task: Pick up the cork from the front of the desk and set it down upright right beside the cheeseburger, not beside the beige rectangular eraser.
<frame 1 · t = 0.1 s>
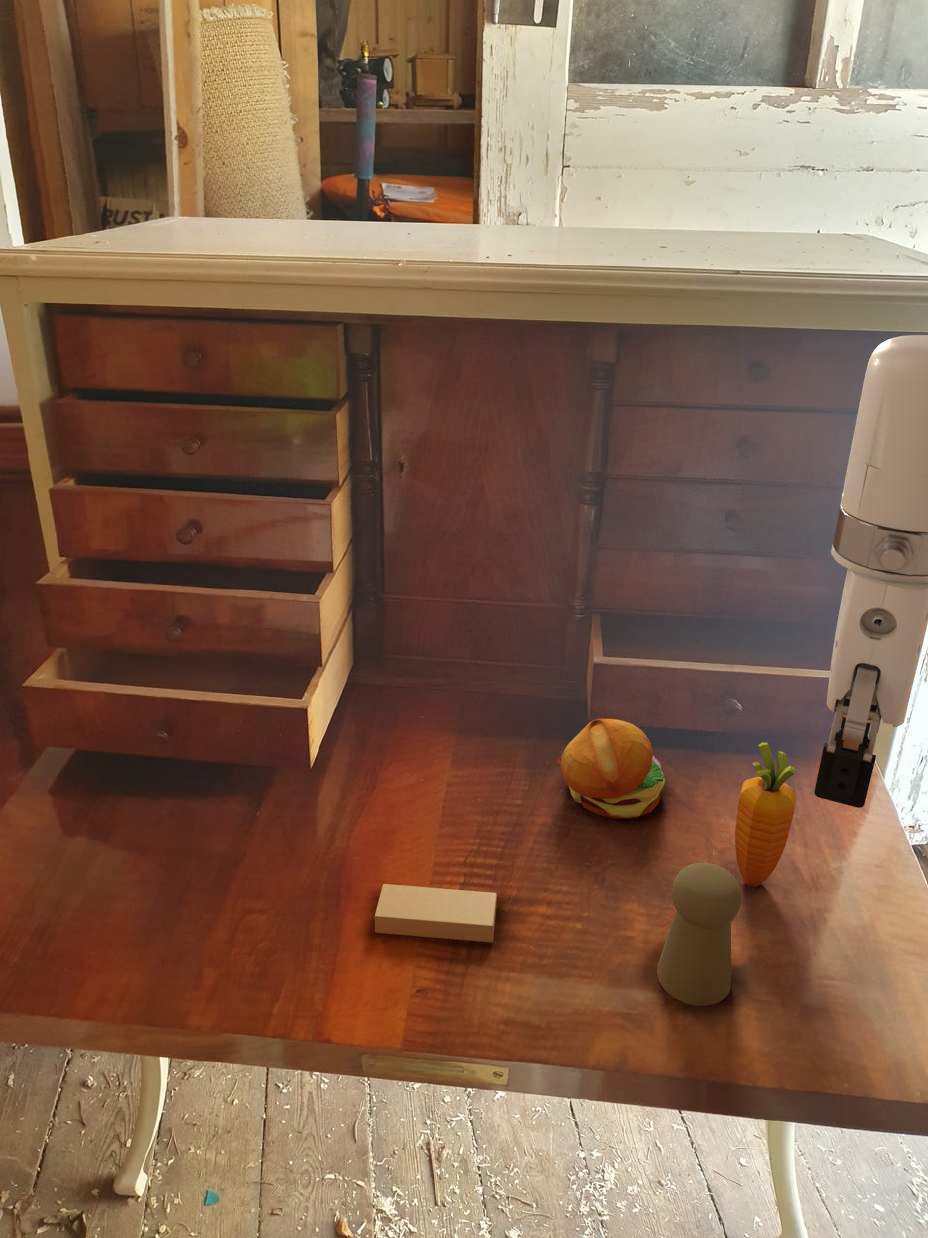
hand: (847, 763, 69), 21 cm above the table, tool pointing down, fingers open, 9 cm apart
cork: (692, 984, 78), on the table
beige rectangular eraser: (436, 926, 83), on the table
carrot: (750, 889, 88), on the table
cheeseburger: (612, 801, 100), on the table
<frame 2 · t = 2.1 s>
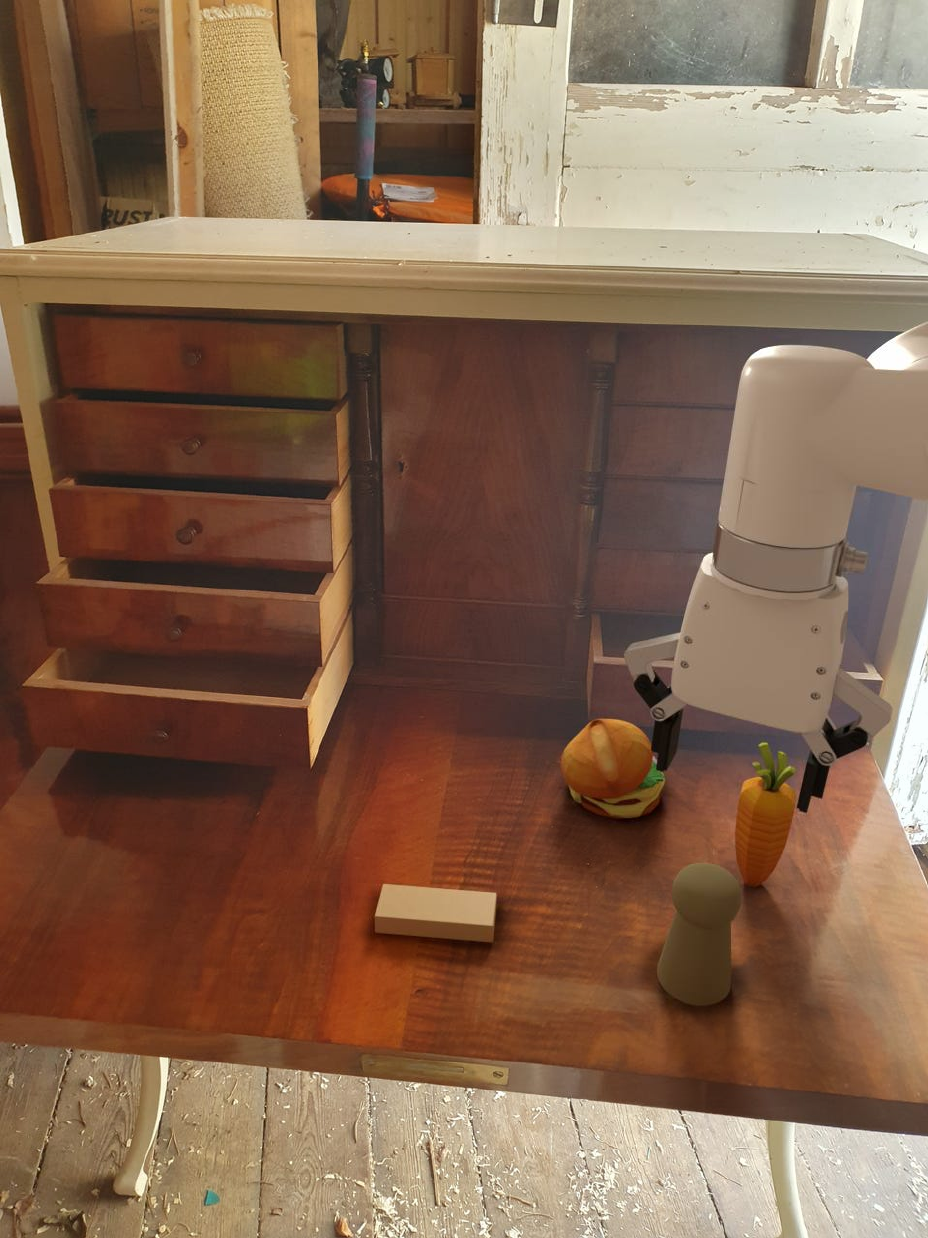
hand: (733, 780, 67), 21 cm above the table, tool pointing down, fingers open, 9 cm apart
nothing on the table moved.
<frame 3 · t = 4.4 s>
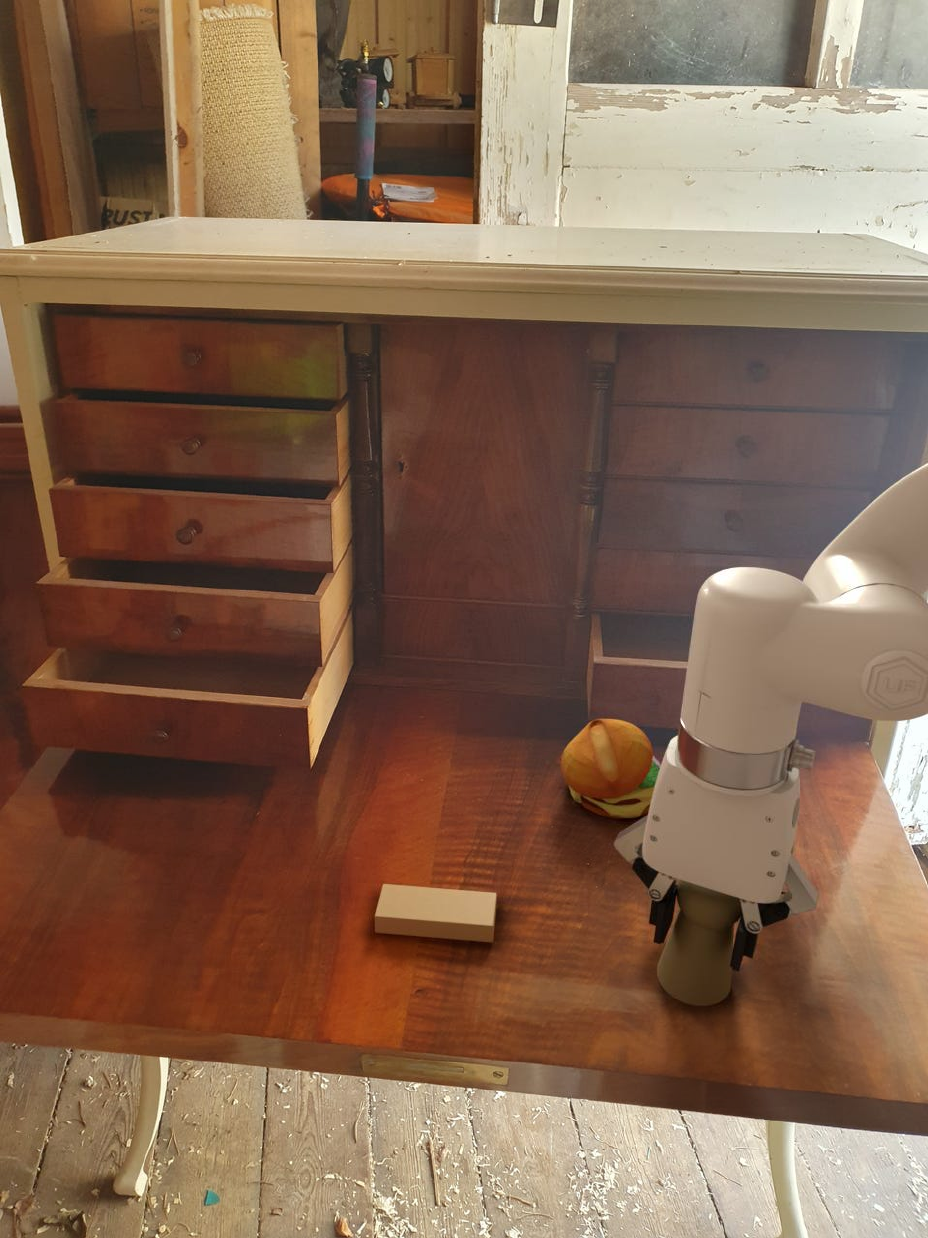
hand: (700, 943, 74), 6 cm above the table, tool pointing down, fingers closed on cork, 5 cm apart
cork: (692, 983, 78), on the table, touching gripper
everything else where it was.
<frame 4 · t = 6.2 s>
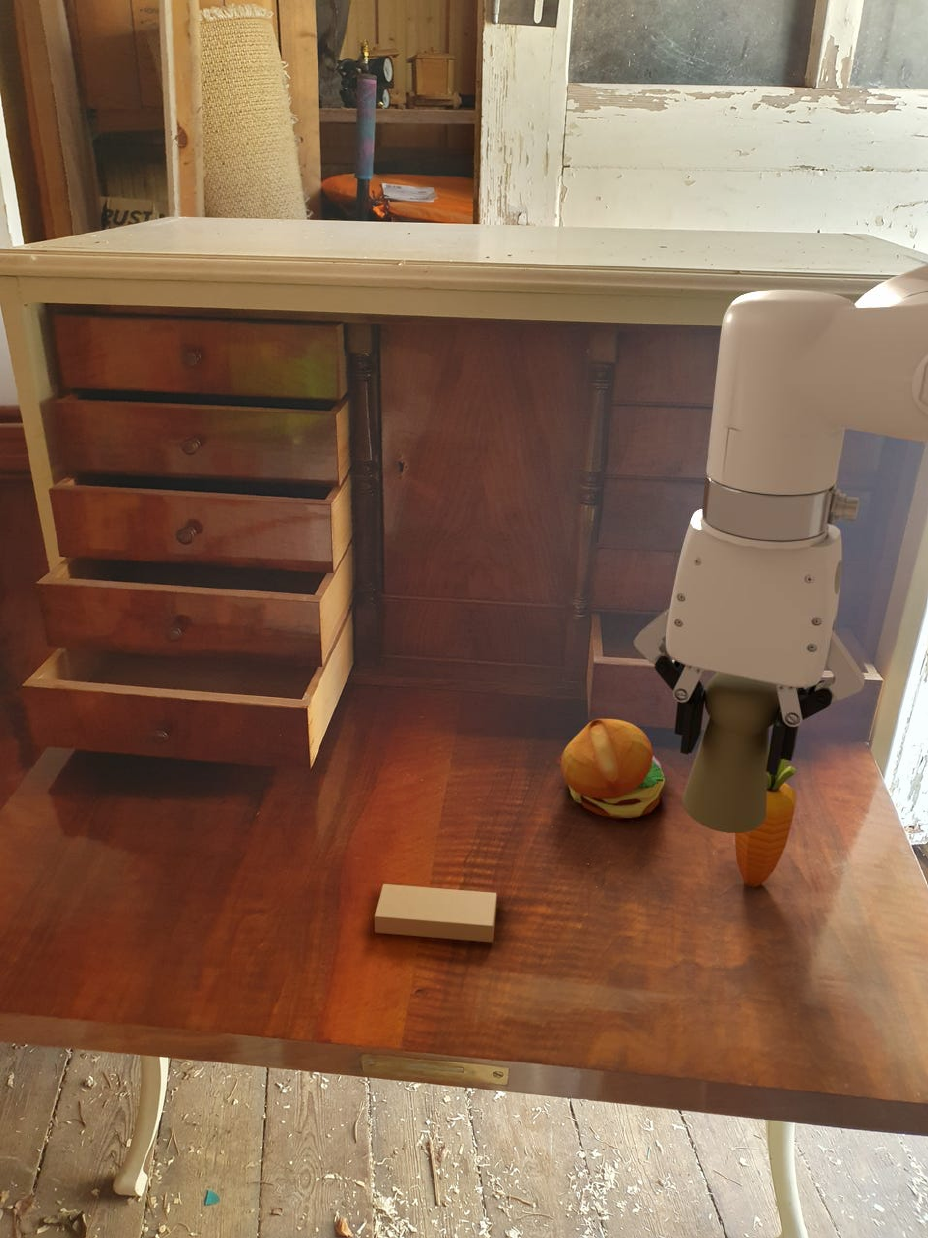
hand: (732, 751, 67), 23 cm above the table, tool pointing down, fingers closed on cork, 5 cm apart
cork: (723, 808, 71), point 17 cm above the table, touching gripper
everything else where it was.
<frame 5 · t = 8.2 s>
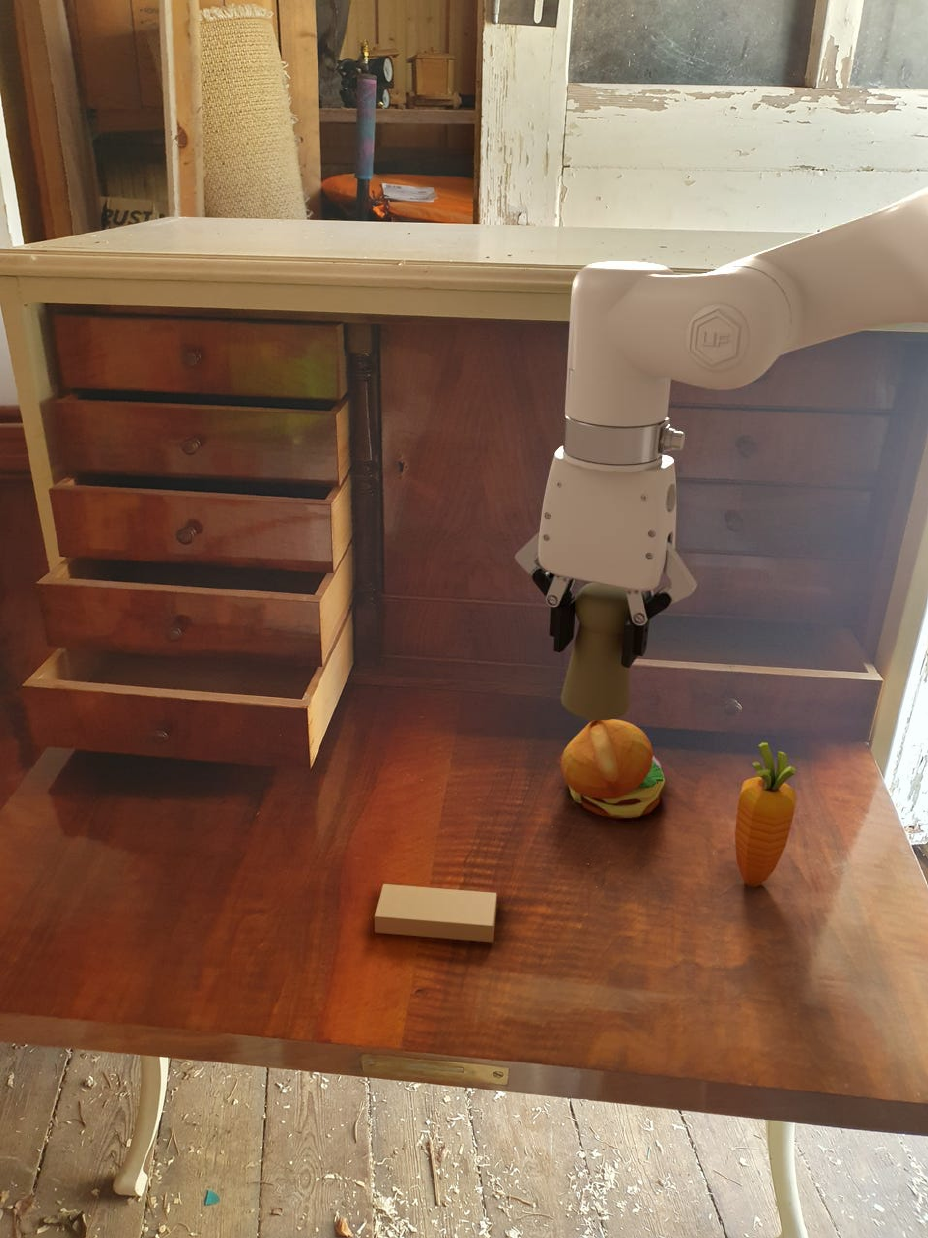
hand: (596, 650, 80), 23 cm above the table, tool pointing down, fingers closed on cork, 5 cm apart
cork: (595, 703, 84), point 17 cm above the table, touching gripper
everything else where it was.
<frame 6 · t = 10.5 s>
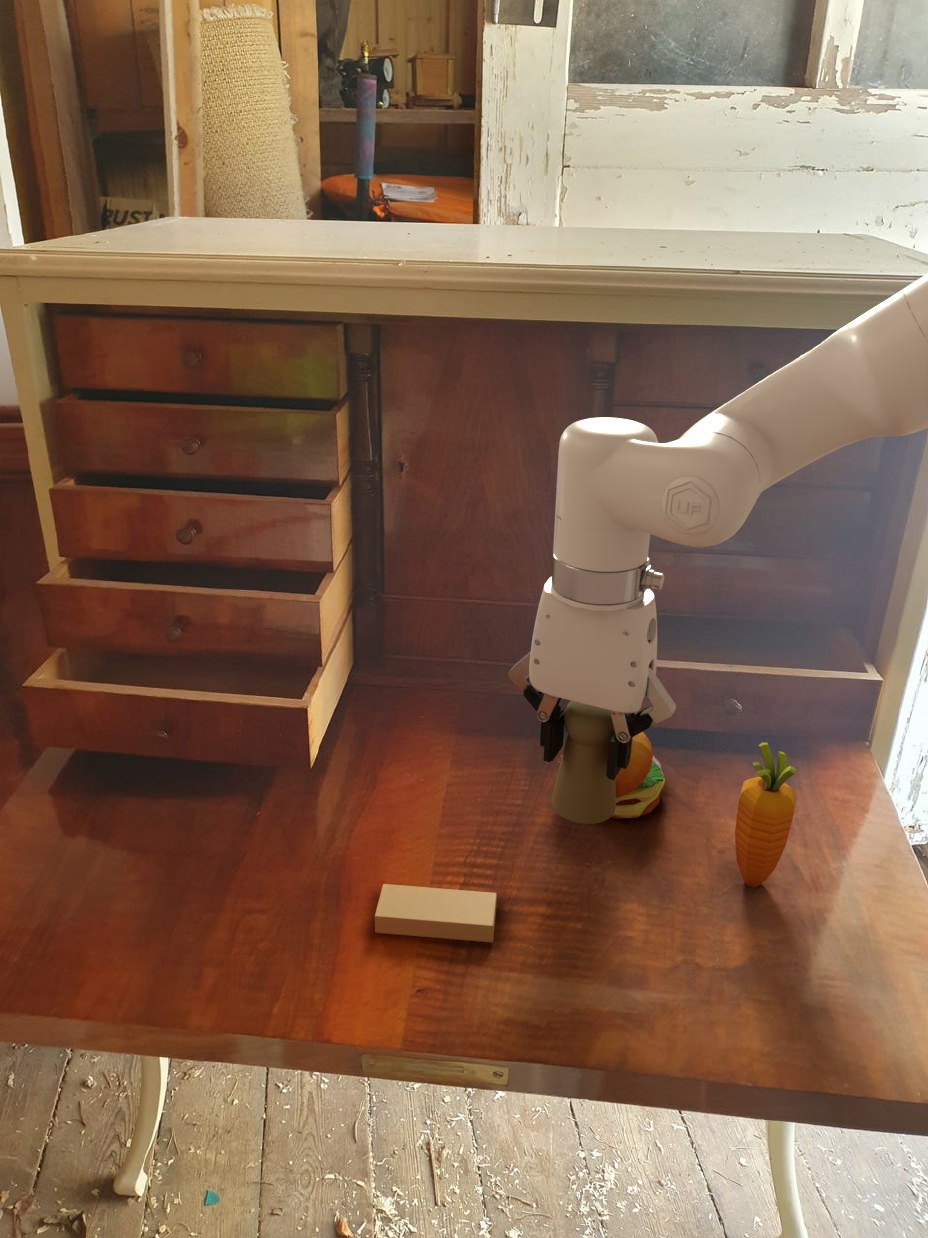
hand: (583, 760, 85), 12 cm above the table, tool pointing down, fingers closed on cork, 5 cm apart
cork: (583, 804, 90), point 6 cm above the table, touching gripper
everything else where it was.
when the fingers open (6 cm above the table, at t = 12.2 s): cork stays where it is, on the table.
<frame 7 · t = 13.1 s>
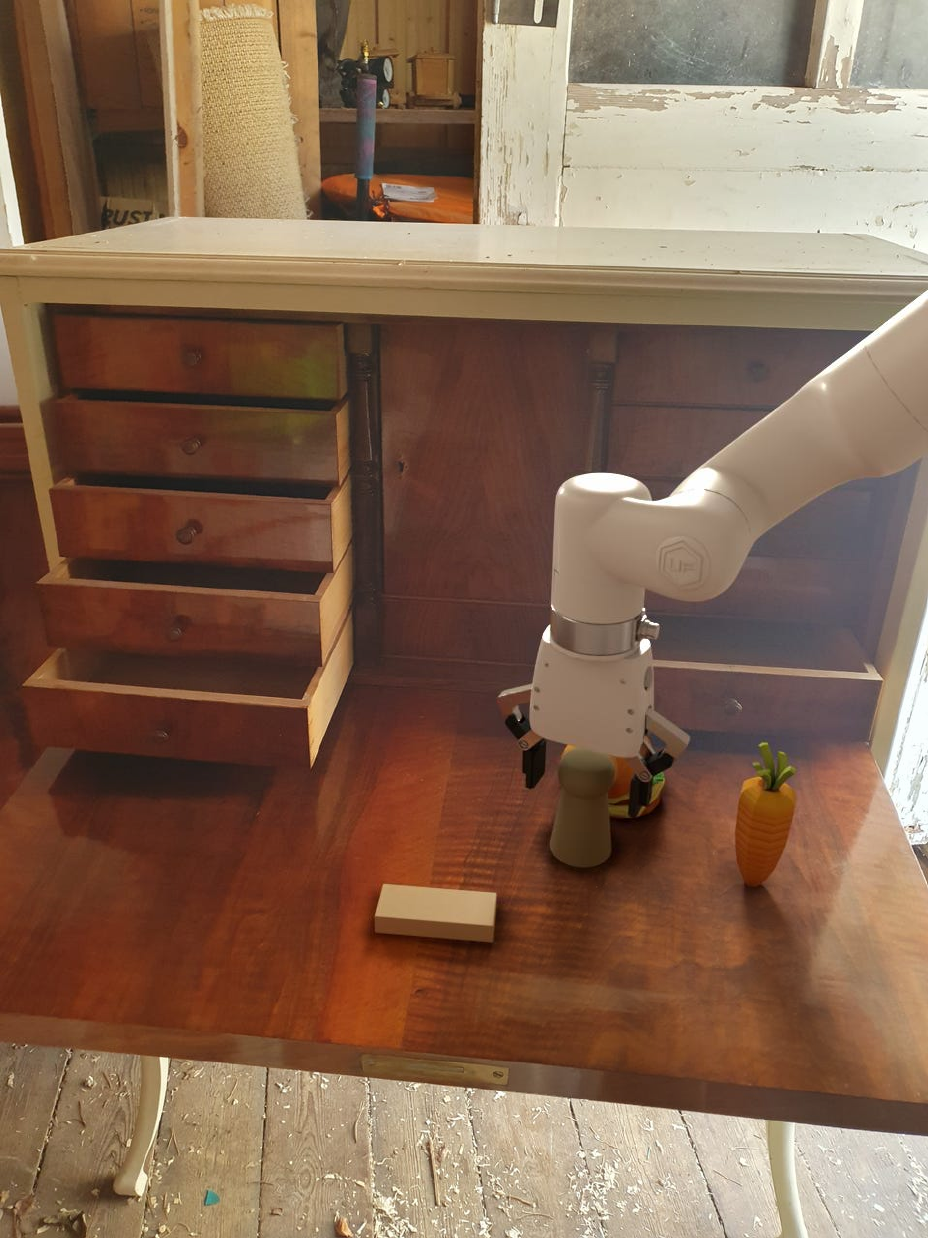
hand: (584, 794, 87), 8 cm above the table, tool pointing down, fingers open, 9 cm apart
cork: (579, 854, 92), on the table
everything else where it was.
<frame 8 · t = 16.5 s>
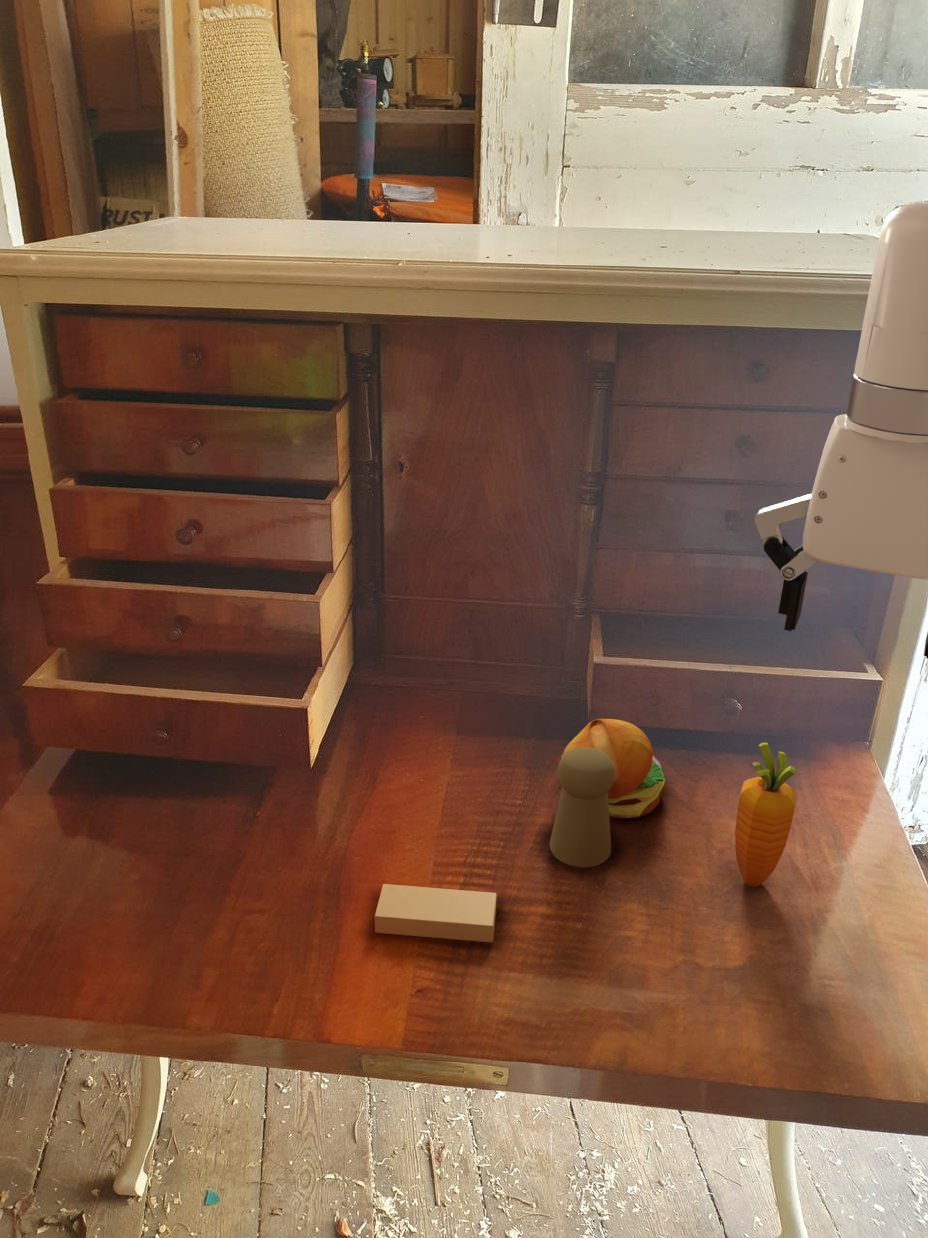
hand: (859, 637, 71), 28 cm above the table, tool pointing down, fingers open, 9 cm apart
nothing on the table moved.
at the end: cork inside the target area on the table beside the cheeseburger (1.7 cm from its centre), on the table; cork tilted 0°; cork 9.3 cm from the cheeseburger (horizontally) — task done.
